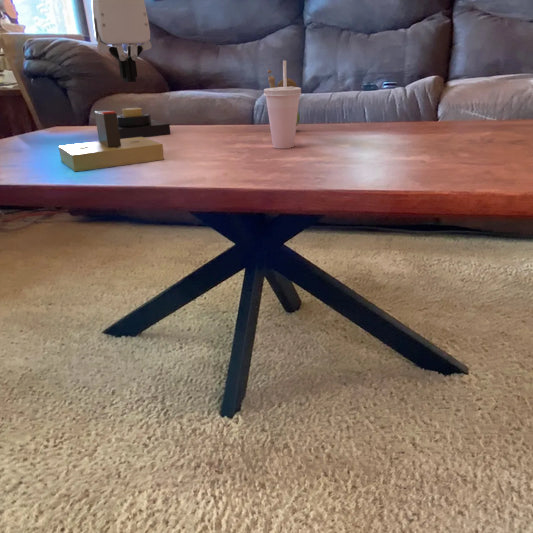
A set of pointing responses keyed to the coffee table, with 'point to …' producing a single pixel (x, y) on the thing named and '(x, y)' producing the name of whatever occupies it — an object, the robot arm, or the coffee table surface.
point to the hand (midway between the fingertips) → (129, 81)
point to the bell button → (132, 112)
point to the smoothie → (283, 112)
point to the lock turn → (107, 128)
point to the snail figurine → (289, 84)
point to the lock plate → (110, 154)
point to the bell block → (141, 127)
